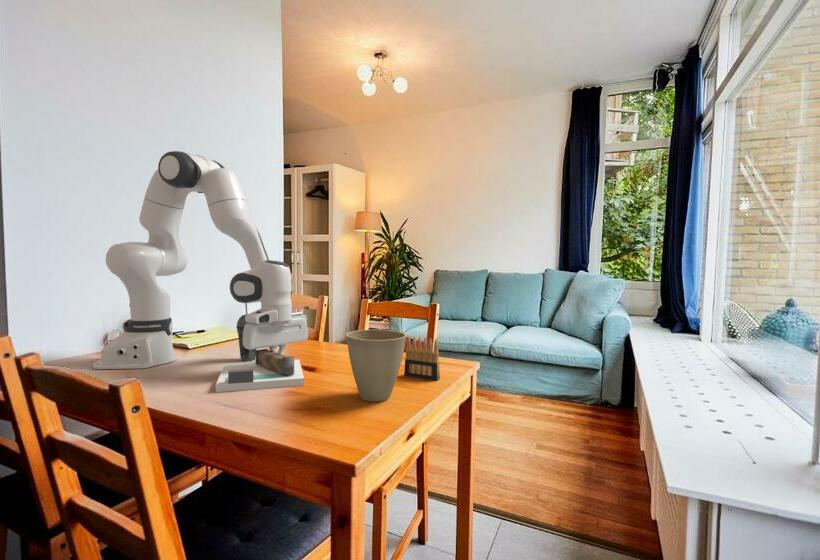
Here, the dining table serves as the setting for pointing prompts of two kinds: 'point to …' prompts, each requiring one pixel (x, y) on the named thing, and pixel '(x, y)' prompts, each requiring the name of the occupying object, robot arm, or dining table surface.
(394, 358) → the plant pot
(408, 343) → the ammunition clip
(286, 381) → the shallow rectangular tray
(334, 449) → the dining table surface
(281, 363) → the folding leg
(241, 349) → the beverage cup
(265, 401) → the dining table surface
